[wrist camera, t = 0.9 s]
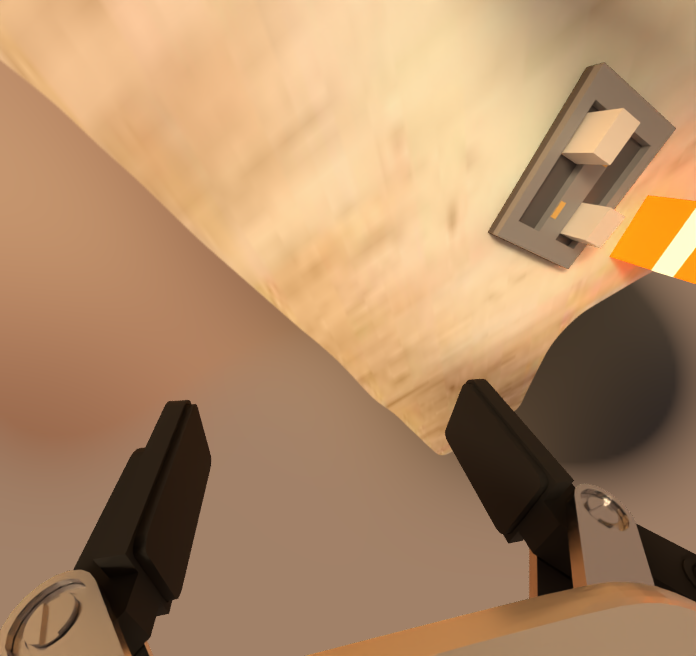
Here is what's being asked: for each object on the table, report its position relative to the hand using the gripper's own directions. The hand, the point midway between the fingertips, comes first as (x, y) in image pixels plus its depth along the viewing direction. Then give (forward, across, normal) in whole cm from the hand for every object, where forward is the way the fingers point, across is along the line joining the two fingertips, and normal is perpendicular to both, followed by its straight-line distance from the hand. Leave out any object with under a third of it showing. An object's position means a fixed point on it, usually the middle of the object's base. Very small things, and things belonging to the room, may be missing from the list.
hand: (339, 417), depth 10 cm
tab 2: (+27, -36, -3) cm, 45 cm away
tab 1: (+27, -32, -12) cm, 43 cm away
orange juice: (+28, -51, -2) cm, 58 cm away
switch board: (+28, -34, -7) cm, 44 cm away
